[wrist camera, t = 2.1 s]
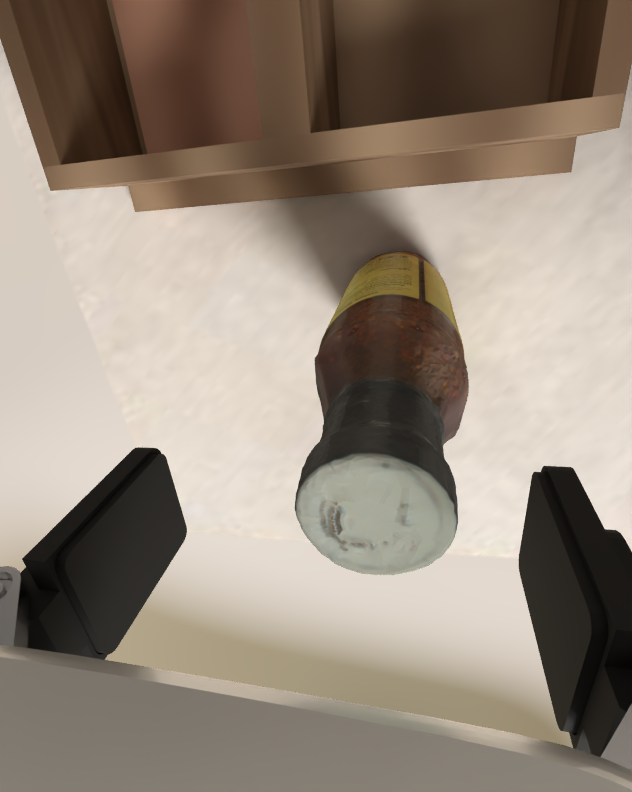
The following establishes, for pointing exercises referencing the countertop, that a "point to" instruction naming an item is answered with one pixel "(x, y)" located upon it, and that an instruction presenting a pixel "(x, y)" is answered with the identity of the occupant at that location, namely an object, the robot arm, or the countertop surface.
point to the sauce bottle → (386, 422)
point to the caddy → (311, 92)
